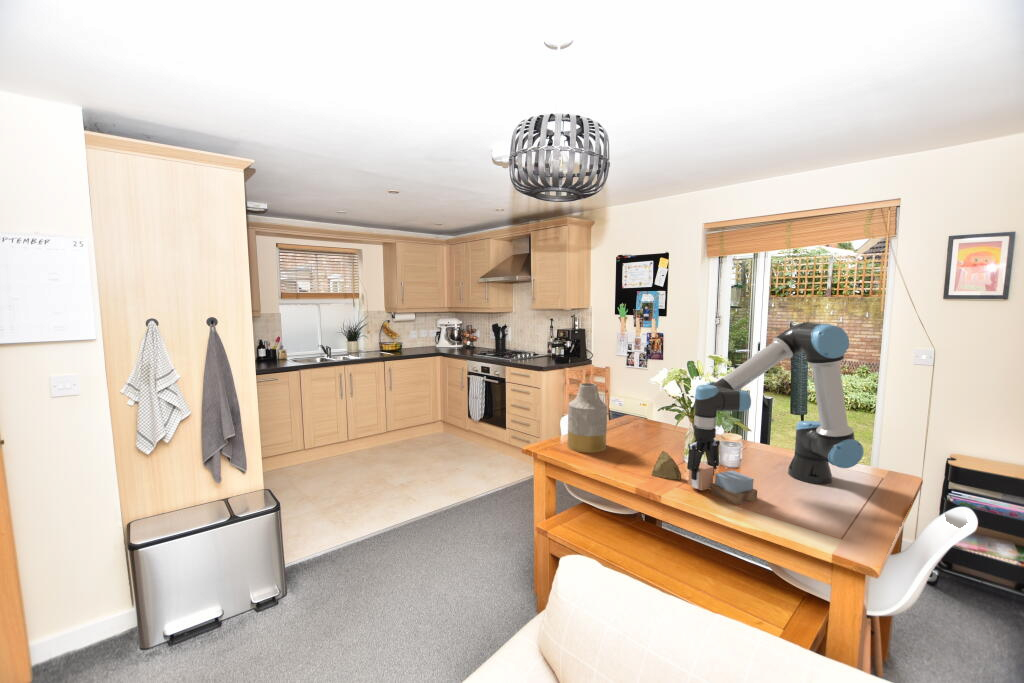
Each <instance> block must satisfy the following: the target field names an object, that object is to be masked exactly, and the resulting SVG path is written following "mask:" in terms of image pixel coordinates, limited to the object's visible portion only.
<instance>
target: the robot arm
mask: <svg viewBox="0 0 1024 683" xmlns="http://www.w3.org/2000/svg"><path fill="white" fill-rule="evenodd" d="M849 347H850V338H849V335H848V334H847V332H846V331H845V330H844V329H843V328H841V327H840V326H837V325H834V324H831V323H817V322H808V321H805V322H801V323H797V324H795V325H792V326H791V327H789V328H788V329H785V330H784V331H783V332H781V333H779V334H778V335H777V336H775V337H774V338H773V339H772V342H771V343H770V344H768V345H767V346H765V348H763V349H762V350H760V351H758V353H756V354H754V355H753V356H751V357H750V358H748V359H747V360H746V361H744V362H743V363H742V364H740V365H739V366H737V367H736V368H734V369H733V370H732V371H730V372H729V373H727V374H726V375H724V376H722V377H721V378H720V379H718V380H717V381H716V382H714V381H711V382H708V383H706V384H699V385H697V386H696V388H695V393H694V394H695V396H694V422H693V424H694V426H693V435H694V438H695V439H694V441H693V443H688V444H687V446H688V457H687V467H686V469H688V471H689V470H691V471H692V475H691V478H692V486H691V487H692V488H695V489H697V490H699V476H700V472H699V471H698V469H699V465H700V462H702V457H703V455H705V458H706V462H707V463H706V464H707V465H710V466H713V467H714V468H713V477H715V470H717V469H718V467H719V466H720V451H719V450H720V444H721V442H720V440H718V439H715V438H716V436H717V435H716V434H717V433H716V432H717V429H716V427H717V413H718V412H745V411H748V410H749V409H751V406H752V399H751V395H750V393H749V392H748V391H747V390H741V389H743V388H744V387H745V386H748V385H749V384H750V383H752V382H753V381H754V380H756V379H757V378H759V377H760V376H762V375H764V374H765V373H767V371H769V370H770V369H772V368H774V367H775V366H776V365H778V364H779V363H781V362H782V361H783V360H785V359H786V358H787V359H788V358H789V359H791V358H793V357H794V356H796V355H798V354H800V353H805V354H804V355H805V360H806V363H807V364H809V365H810V366H811V370H812V379H813V383H814V390H815V398H816V399H815V400H816V405H817V412H818V419H819V421H817V420H800V421H798V422H797V424H796V428H795V431H796V432H795V443H794V445H795V446H794V454H793V455H794V456H793V458H792V459H791V462H790V464H789V466H788V470H787V473H788V475H789V476H790V477H792V478H794V479H795V480H800V481H802V482H806V483H810V484H818V485H819V484H821V485H826V484H831V483H832V481H833V475H832V472H831V467H830V464H831V465H832V466H835V467H838V468H840V469H850V468H852V467H854V466H857V464H859V462H860V461H861V460H862V459H863V456H864V452H865V451H864V446H863V445H862V443H861V442H860V441H859V440H857V439H855V432H854V428H852V427H851V426H849V424H848V418H847V417H848V416H847V407H846V401H845V396H844V388H843V379H842V374H841V366H840V364H841V363H842V361H844V360H845V359H844V358H845V357H844V355H845V354H846V353H847V350H849Z"/></svg>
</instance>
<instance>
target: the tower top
mask: <svg viewBox="0 0 1024 683" xmlns="http://www.w3.org/2000/svg"><path fill="white" fill-rule="evenodd" d="M714 477H715V478H714V483H715V484H716V485H718V486H720V487H722V488H724V489H726V490H729V491H731V492H733V493H735V494H736V493H741V492H745V491H749V490H753V489H754V478H753V477H750V476H748V475H745V474H743V473H740V472H738V471H736V470H727V471H722V472H718V473H714Z"/></svg>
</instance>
